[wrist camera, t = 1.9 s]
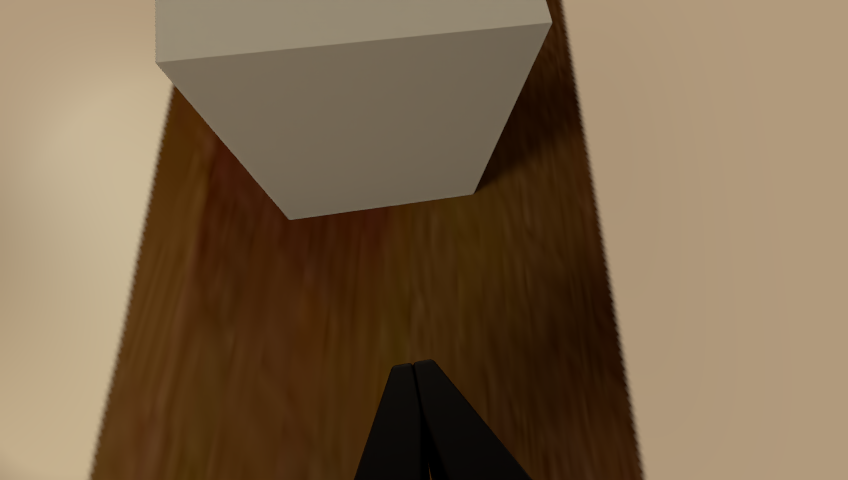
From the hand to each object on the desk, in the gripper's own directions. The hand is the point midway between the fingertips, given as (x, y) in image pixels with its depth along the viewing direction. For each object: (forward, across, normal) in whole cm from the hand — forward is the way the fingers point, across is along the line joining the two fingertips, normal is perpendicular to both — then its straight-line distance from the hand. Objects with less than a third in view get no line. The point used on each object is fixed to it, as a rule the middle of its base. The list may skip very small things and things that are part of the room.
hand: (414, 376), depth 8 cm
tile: (+13, 0, +1) cm, 13 cm away
